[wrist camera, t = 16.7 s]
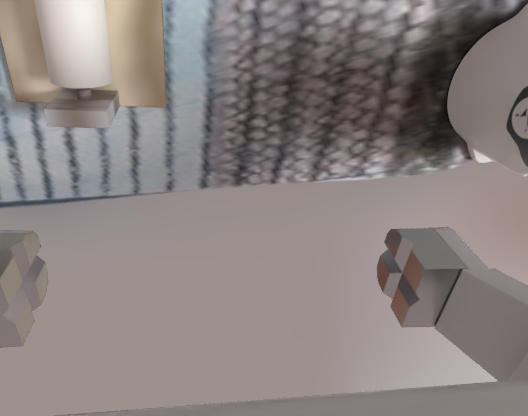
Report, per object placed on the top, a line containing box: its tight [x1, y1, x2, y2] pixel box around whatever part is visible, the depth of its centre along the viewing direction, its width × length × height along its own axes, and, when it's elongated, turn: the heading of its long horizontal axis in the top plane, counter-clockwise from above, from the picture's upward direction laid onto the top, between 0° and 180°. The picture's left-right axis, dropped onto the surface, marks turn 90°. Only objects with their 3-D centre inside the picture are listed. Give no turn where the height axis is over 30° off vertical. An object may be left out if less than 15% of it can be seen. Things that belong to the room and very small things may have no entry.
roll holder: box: [0, 0, 167, 128], centre depth 33 cm, size 14×16×7 cm
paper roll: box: [34, 0, 113, 88], centre depth 33 cm, size 11×5×5 cm
